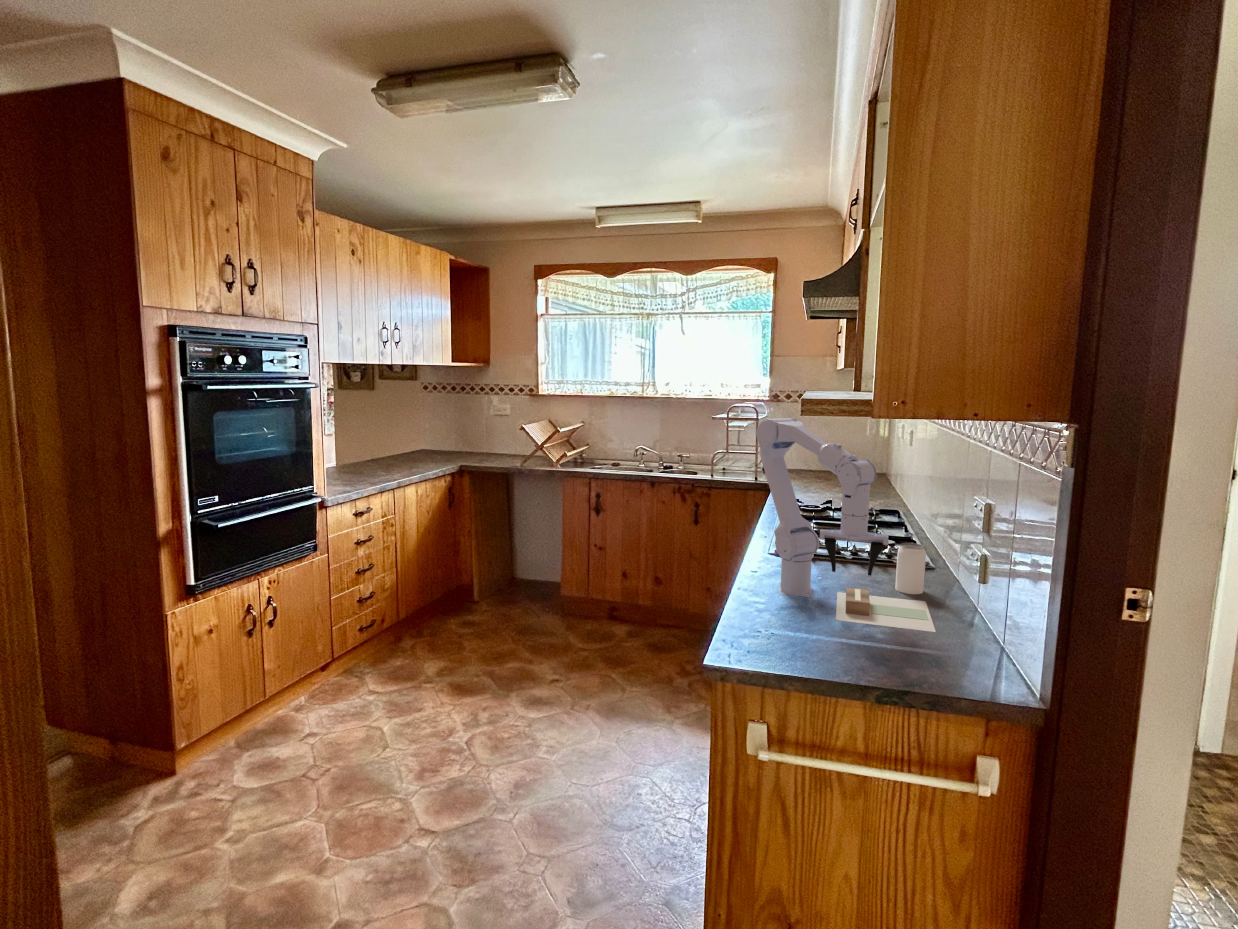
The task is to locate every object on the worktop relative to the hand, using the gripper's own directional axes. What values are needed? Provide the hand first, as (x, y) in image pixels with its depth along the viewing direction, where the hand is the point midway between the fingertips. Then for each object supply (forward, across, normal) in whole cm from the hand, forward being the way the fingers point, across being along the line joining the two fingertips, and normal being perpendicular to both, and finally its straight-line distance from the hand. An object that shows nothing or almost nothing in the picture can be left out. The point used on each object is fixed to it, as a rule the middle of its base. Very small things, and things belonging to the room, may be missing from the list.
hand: (851, 572), depth 151 cm
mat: (+10, +7, +2) cm, 12 cm away
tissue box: (+9, +2, +2) cm, 9 cm away
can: (+10, +14, +20) cm, 27 cm away
